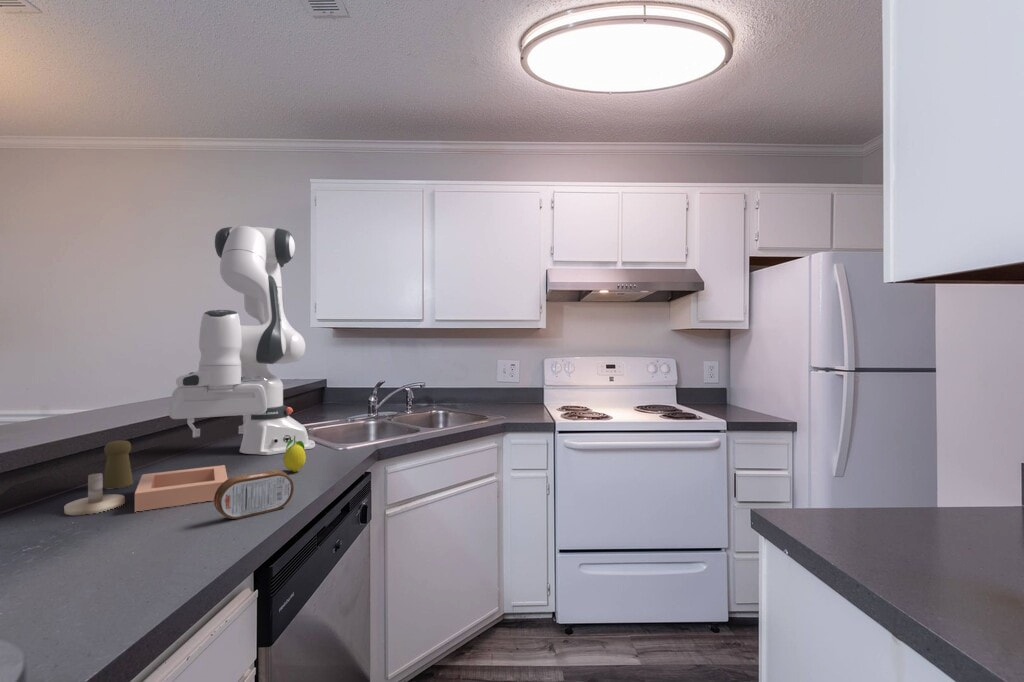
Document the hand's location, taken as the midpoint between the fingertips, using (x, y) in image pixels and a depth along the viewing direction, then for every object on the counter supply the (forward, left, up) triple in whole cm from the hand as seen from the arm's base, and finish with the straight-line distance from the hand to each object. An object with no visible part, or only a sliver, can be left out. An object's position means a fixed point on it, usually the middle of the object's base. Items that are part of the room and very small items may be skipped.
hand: (219, 435), depth 119 cm
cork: (+21, -17, -14) cm, 30 cm away
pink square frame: (+7, 0, -13) cm, 15 cm away
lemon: (-18, -8, -14) cm, 24 cm away
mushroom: (+23, 0, -13) cm, 27 cm away
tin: (-6, +22, -14) cm, 26 cm away
